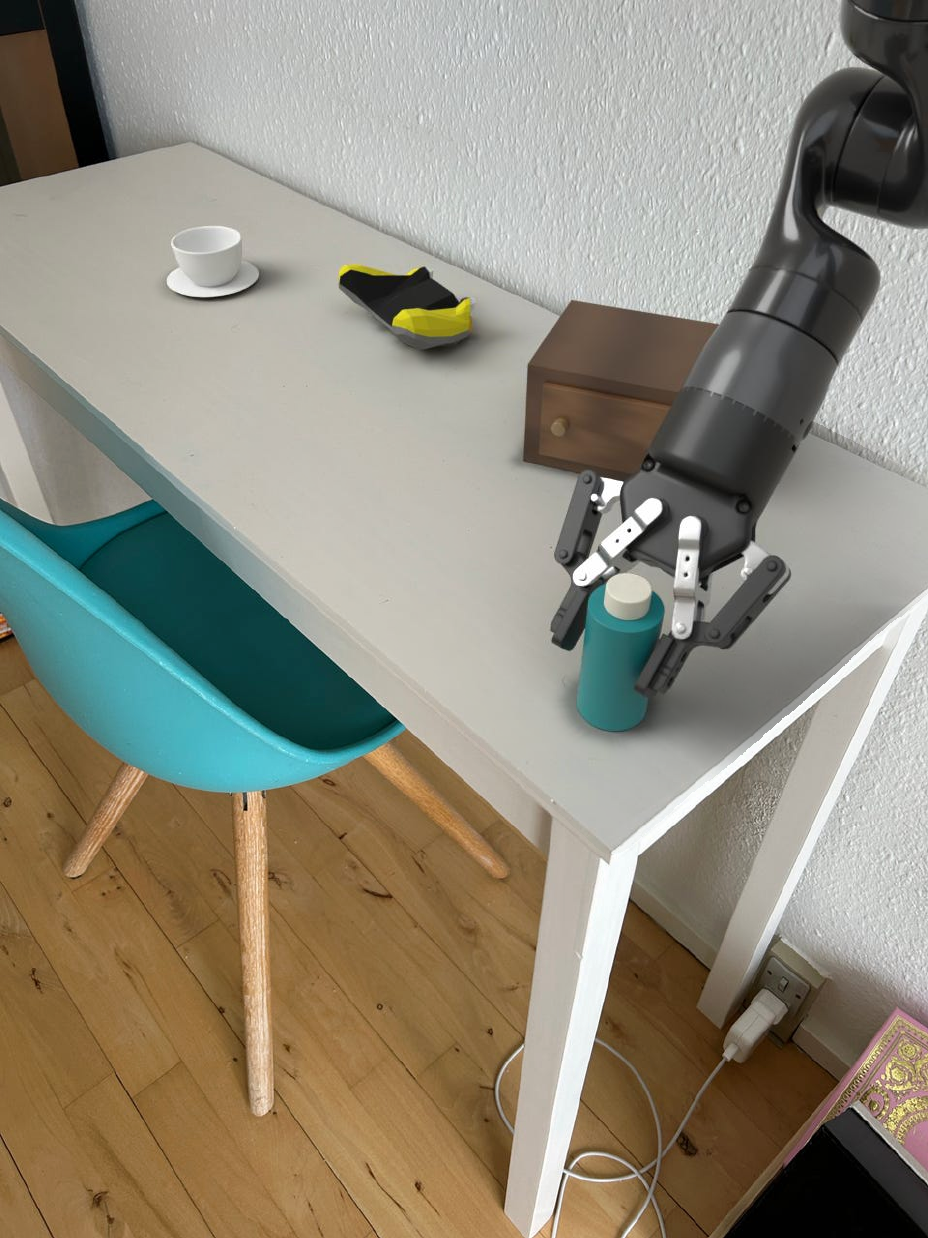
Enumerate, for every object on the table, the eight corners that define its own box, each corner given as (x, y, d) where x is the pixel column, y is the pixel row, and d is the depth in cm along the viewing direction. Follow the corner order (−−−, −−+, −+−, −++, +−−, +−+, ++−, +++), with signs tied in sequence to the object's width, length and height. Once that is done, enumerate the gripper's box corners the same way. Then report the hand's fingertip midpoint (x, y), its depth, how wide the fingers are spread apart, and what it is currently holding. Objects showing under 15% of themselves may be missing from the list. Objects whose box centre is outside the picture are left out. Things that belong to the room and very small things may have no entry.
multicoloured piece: (405, 375, 92) (493, 348, 96) (402, 321, 89) (494, 294, 93) (333, 314, 102) (416, 291, 106) (328, 262, 98) (414, 241, 102)
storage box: (715, 421, 86) (734, 326, 80) (684, 505, 77) (703, 405, 71) (564, 392, 90) (571, 299, 84) (517, 469, 81) (521, 371, 75)
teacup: (272, 288, 106) (266, 246, 103) (182, 308, 103) (173, 265, 99) (242, 255, 113) (235, 214, 109) (156, 273, 109) (147, 231, 106)
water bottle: (653, 690, 63) (675, 572, 56) (636, 740, 60) (658, 621, 53) (587, 673, 64) (601, 555, 57) (568, 720, 61) (580, 602, 54)
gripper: (616, 348, 56) (480, 607, 58) (851, 438, 49) (688, 728, 51) (654, 393, 63) (531, 625, 65) (866, 478, 56) (722, 735, 58)
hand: (601, 669), depth 58 cm, fingers open, 5 cm apart
